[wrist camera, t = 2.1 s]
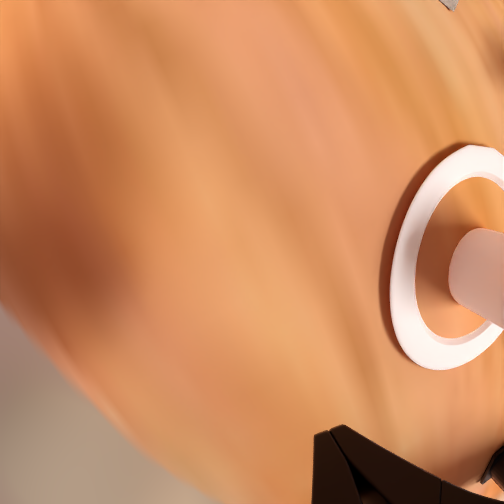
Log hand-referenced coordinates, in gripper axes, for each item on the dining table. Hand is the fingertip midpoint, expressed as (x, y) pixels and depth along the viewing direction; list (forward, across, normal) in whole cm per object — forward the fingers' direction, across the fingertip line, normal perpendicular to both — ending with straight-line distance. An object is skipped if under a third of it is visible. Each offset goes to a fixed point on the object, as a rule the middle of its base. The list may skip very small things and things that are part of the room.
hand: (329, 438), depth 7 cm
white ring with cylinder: (+6, -11, 0) cm, 13 cm away
